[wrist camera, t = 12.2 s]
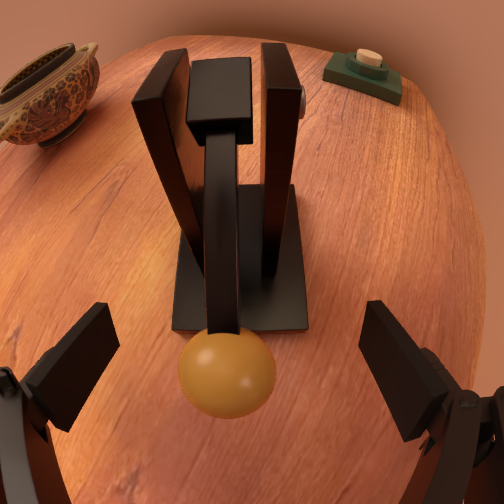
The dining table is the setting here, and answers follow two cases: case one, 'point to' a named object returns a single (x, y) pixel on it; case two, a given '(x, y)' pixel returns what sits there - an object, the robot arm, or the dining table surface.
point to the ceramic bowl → (49, 96)
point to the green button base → (364, 77)
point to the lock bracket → (250, 195)
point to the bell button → (369, 57)
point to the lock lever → (223, 249)
